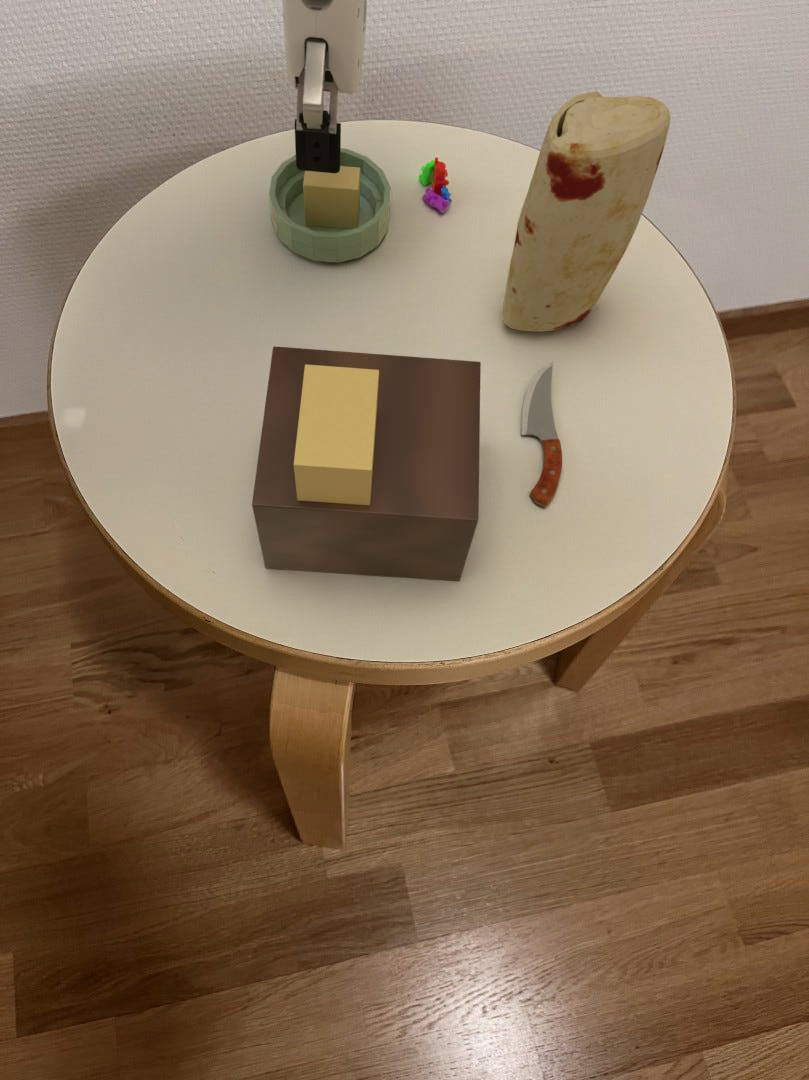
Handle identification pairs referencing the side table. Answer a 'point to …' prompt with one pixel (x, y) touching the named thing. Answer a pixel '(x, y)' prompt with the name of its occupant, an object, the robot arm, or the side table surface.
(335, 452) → the butter
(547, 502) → the knife
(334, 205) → the butter slice
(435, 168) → the multicolored plastic block cluster
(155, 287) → the side table surface
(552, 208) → the food model
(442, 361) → the chopping block
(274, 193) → the dish
